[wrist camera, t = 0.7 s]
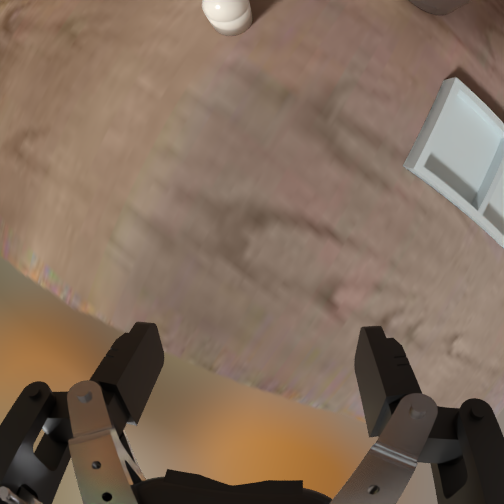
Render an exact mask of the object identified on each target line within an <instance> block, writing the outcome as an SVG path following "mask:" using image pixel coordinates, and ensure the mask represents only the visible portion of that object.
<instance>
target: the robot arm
mask: <svg viewBox="0 0 504 504" xmlns="http://www.w3.org/2000/svg"><path fill="white" fill-rule="evenodd" d="M409 1H410V2H412V3H413V4H414V5H416V6H417V7H419V8H420V9H422V10H424V11H426V12H428V13H431V14H435V15H446V14H448V13H450V12H452V11H454V10H456V9H457V8H459V7H461V6H463V5H465V4H467V3H469V2H471V1H473V0H409ZM163 364H164V351H163V348H162V344H161V340H160V336H159V333H158V329H157V326H156V324H155V323H146V322H136V323H135V325H134V326H133V328H132V329H131V331H130V332H129V333H124V334H123V335H122V336H120V337H119V338H118V339H116V341H115V342H114V344H113V345H112V346H111V349H110V350H109V351H108V353H107V354H106V357H104V359H103V360H102V362H101V363H100V365H99V366H98V368H97V369H96V371H95V372H94V374H93V375H92V377H91V379H90V380H89V381H88V380H87V381H81V382H79V383H76V384H75V385H73V386H72V387H71V388H70V390H69V391H68V392H52V391H51V389H50V388H49V386H48V385H47V384H46V383H44V382H33V383H31V384H29V385H28V386H26V387H25V388H24V390H23V391H22V393H21V394H20V395H19V397H18V399H17V400H16V401H15V403H14V405H13V406H12V408H11V409H10V411H9V412H8V414H7V415H6V417H5V419H4V420H3V422H2V423H1V425H0V504H52V502H53V499H54V497H55V494H56V492H57V489H58V487H59V484H60V482H61V479H62V477H63V474H64V472H65V470H66V467H67V465H68V462H69V460H70V458H72V462H73V467H74V471H75V475H76V479H77V483H78V487H79V490H80V494H81V497H82V500H83V504H396V503H397V501H398V499H399V498H400V496H401V494H402V493H403V491H404V489H405V487H406V485H407V484H408V482H409V480H410V478H411V476H412V474H413V473H414V471H415V468H416V466H417V462H423V463H431V468H432V473H433V478H434V483H435V489H436V495H437V501H438V504H504V437H503V435H502V432H501V429H500V427H499V424H498V422H497V420H496V417H495V415H494V413H493V410H492V408H491V407H490V405H489V404H488V403H486V402H485V401H483V400H481V399H476V398H473V399H468V400H466V401H465V402H464V403H463V404H462V405H461V407H460V409H458V408H446V407H439V406H437V405H436V403H435V402H434V400H433V399H432V398H430V397H429V396H427V395H424V394H422V392H421V389H420V387H419V385H418V382H417V380H416V377H415V375H414V372H413V370H412V368H411V365H409V364H410V363H409V361H408V358H407V357H406V354H405V352H404V349H403V347H402V345H400V344H399V343H398V342H397V341H396V340H395V339H394V338H386V336H385V334H384V331H383V329H382V327H381V326H368V327H362V328H361V330H360V335H359V340H358V345H357V350H356V354H355V373H356V378H357V382H358V386H359V391H360V395H361V400H362V404H363V409H364V414H365V419H366V424H367V429H368V433H369V437H376V436H379V438H378V440H377V441H376V443H375V444H374V445H373V446H372V447H371V449H370V450H369V451H368V453H367V454H366V456H365V457H364V459H363V460H362V461H361V463H360V464H359V466H358V467H357V469H356V470H355V471H354V473H353V474H352V476H351V477H350V478H349V479H348V481H347V482H346V484H345V485H344V486H343V487H342V489H341V490H340V491H339V492H338V494H337V495H336V496H335V497H334V499H333V500H332V499H331V498H329V497H328V496H326V495H324V494H321V493H319V492H317V491H313V490H310V489H305V488H303V481H302V480H299V481H273V480H268V481H262V482H256V483H250V484H243V485H236V486H235V485H234V486H232V485H227V484H224V483H221V482H218V481H215V480H212V479H210V478H206V477H204V476H201V475H198V474H192V473H186V472H180V471H174V470H169V469H167V472H166V475H165V477H157V478H152V479H147V480H146V478H145V476H144V475H143V473H142V472H141V469H140V467H139V466H138V463H137V461H136V458H135V456H134V453H133V451H132V449H131V446H130V443H129V441H128V438H127V436H126V433H125V431H124V428H125V426H126V423H127V424H132V425H137V424H138V422H139V419H140V417H141V415H142V412H143V410H144V408H145V405H146V403H147V401H148V398H149V396H150V394H151V392H152V389H153V387H154V385H155V383H156V380H157V378H158V376H159V374H160V371H161V369H162V367H163ZM41 429H43V431H44V432H45V433H44V435H43V437H42V439H41V441H40V443H39V445H38V447H37V449H36V451H35V453H33V444H34V442H35V440H36V438H37V437H38V435H39V432H40V431H41Z"/></svg>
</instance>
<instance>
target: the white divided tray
mask: <svg viewBox="0 0 504 504" xmlns="http://www.w3.org/2000/svg"><path fill="white" fill-rule="evenodd" d="M403 167H405V168H406V169H408V170H409V171H411V172H412V173H413V174H415V175H416V176H418V177H419V178H420V179H422V180H423V181H425V182H426V183H427V184H429V185H430V186H431V187H433V188H434V189H435V190H436V191H438V192H439V193H440V194H442V195H443V196H444V197H445V198H447V199H448V200H449V201H450V202H452V203H453V204H454V205H455V206H457V207H458V208H459V209H460V210H461V211H463V212H464V213H465V214H466V215H467V216H469V217H470V218H471V219H472V220H473V221H474V222H476V223H477V224H478V225H479V226H480V227H481V228H482V229H483V230H484V231H486V232H487V233H488V234H489V235H490V236H491V237H492V238H493V239H494V240H495V241H496V242H497V243H498V244H499V245H501V246H502V247H503V248H504V123H503V122H502V121H501V120H500V119H499V118H498V117H497V116H496V115H495V114H494V113H493V111H492V110H491V109H490V108H489V107H488V106H487V105H486V104H485V103H484V102H483V101H482V100H481V99H479V98H478V97H477V96H476V95H475V94H474V93H473V92H472V91H471V90H470V89H469V88H468V87H467V86H466V85H464V84H463V83H462V82H461V81H460V80H459V79H458V78H456V77H455V78H450V79H446V80H444V81H443V83H442V85H441V88H440V90H439V92H438V94H437V97H436V99H435V101H434V103H433V105H432V108H431V110H430V112H429V114H428V116H427V118H426V120H425V123H424V125H423V127H422V129H421V131H420V133H419V135H418V137H417V139H416V141H415V143H414V145H413V147H412V149H411V151H410V153H409V155H408V157H407V159H406V161H405V163H404V164H403Z"/></svg>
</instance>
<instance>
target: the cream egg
mask: <svg viewBox="0 0 504 504" xmlns="http://www.w3.org/2000/svg"><path fill="white" fill-rule="evenodd" d="M202 9H203V11H204V13H205V15H206V16H207V18H208V20H209V21H210V23H211V24H212V26H213V27H214V29H215V30H216V31H217V32H218V33H220V34H222V35H225V36H236V35H239V34H242V33H244V32H245V31H246V30H247V29H248V28H249V27H250V26H251V24H252V20H253V17H252V12H251V7H250V3H249V0H203V1H202Z"/></svg>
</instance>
